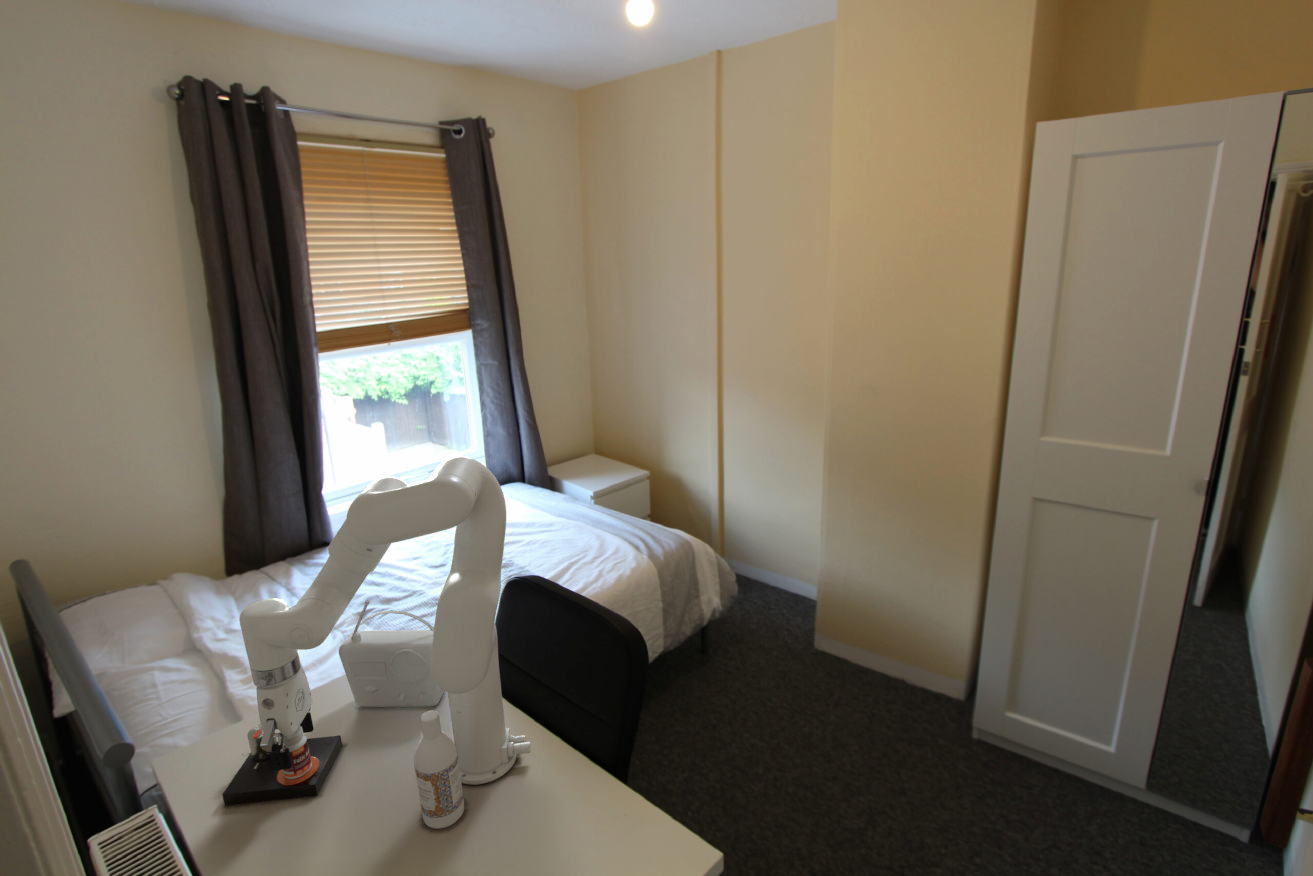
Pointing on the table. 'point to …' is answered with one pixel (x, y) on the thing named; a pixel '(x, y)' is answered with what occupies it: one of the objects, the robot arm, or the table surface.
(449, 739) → the bath foam
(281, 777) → the burner ring
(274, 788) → the hob
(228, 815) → the table surface
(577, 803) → the table surface
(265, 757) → the hob knob
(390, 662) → the radio
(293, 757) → the pill bottle
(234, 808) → the table surface
